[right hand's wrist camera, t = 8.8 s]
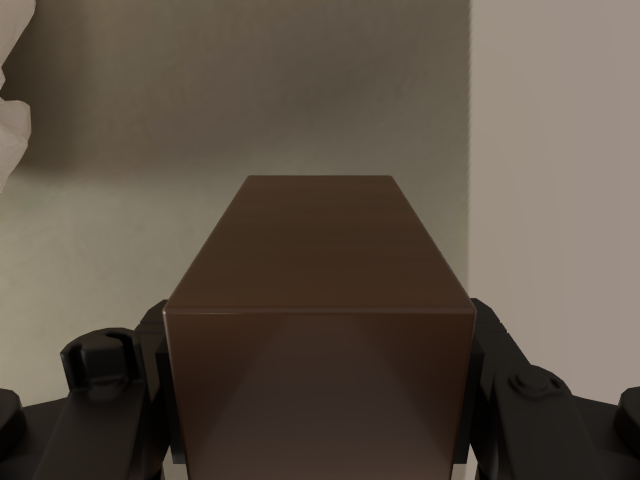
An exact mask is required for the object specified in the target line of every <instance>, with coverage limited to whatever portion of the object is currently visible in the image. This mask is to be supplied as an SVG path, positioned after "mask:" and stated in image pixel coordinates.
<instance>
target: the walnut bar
mask: <svg viewBox="0 0 640 480" xmlns="http://www.w3.org/2000/svg"><path fill="white" fill-rule="evenodd" d="M162 312H163V319H164V325H165V331H166V338H167V344H168V351H169V357H170V364H171V370H172V377H173V383H174V390H175V396H176V403H177V409H178V416H179V422H180V429H181V435H182V442H183V448H184V455H185V461H186V468H187V474H188V480H451V476H452V470H453V463H454V457H455V450H456V444H457V437H458V431H459V424H460V418H461V411H462V405H463V398H464V392H465V385H466V379H467V372H468V366H469V359H470V353H471V346H472V339H473V333H474V326H475V320H476V313H477V310H476V307H475V306H474V304H473V302H472V301H471V299H470V298H469V296H468V295H467V293H466V291H465V290H464V288H463V287H462V285H461V284H460V282H459V281H458V279H457V277H456V276H455V274H454V273H453V271H452V270H451V268H450V266H449V265H448V263H447V262H446V260H445V259H444V257H443V255H442V254H441V252H440V251H439V249H438V248H437V246H436V244H435V243H434V241H433V240H432V238H431V237H430V235H429V233H428V232H427V230H426V229H425V227H424V226H423V224H422V222H421V221H420V219H419V218H418V216H417V215H416V213H415V211H414V210H413V208H412V207H411V205H410V204H409V202H408V200H407V199H406V197H405V196H404V194H403V193H402V191H401V190H400V188H399V186H398V185H397V183H396V182H395V180H394V179H393V177H392V176H248V177H247V178H246V180H245V181H244V183H243V185H242V186H241V188H240V189H239V191H238V192H237V194H236V195H235V197H234V199H233V200H232V202H231V203H230V205H229V206H228V208H227V209H226V211H225V213H224V214H223V216H222V217H221V219H220V220H219V222H218V223H217V225H216V227H215V228H214V230H213V231H212V233H211V234H210V236H209V237H208V239H207V241H206V242H205V244H204V245H203V247H202V248H201V250H200V251H199V253H198V255H197V256H196V258H195V259H194V261H193V262H192V264H191V265H190V267H189V269H188V270H187V272H186V273H185V275H184V276H183V278H182V279H181V281H180V283H179V284H178V286H177V287H176V289H175V290H174V292H173V293H172V295H171V297H170V298H169V300H168V301H167V303H166V304H165V306H164V308H163V311H162Z"/></svg>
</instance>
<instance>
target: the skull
mask: <svg viewBox="0 0 640 480" xmlns="http://www.w3.org/2000/svg"><path fill="white" fill-rule="evenodd" d="M35 6H36V0H0V90H1V88H2V86H3V84H4V82H5V77H4V74H3V71H2V68H1V67H2V65H3V63H4V62H5V60H6V58H7V57H8V55H9V54H10V52H11V50H12V49H13V47H14V45H15V44H16V42H17V40H18V39H19V37H20V35H21V34H22V32H23V31H24V29H25V28H26V26H27V25H28V24H29V22H30V20H31V18H32V16H33V14H34V12H35ZM30 134H31V117H30V106H29V105H28V104H26V103H25V102H23V101H18V100H14V101H4V100H3V99H2V98H1V97H0V194H1V192H2V190H3V188H4V186H5V183H6V181H7V179H8V177H9V175H10V174H11V173H12V171H13V170H14V168H15V167H16V166H17V164H18V163H19V162H20V160H21V158H22V156H23V154H24V152H25V150H26V149H27V147H28V139H29V137H30Z"/></svg>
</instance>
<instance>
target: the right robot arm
mask: <svg viewBox="0 0 640 480" xmlns="http://www.w3.org/2000/svg"><path fill="white" fill-rule="evenodd" d="M470 299H471V301H472V302H473V304H474V306H475V307H476V310H477V313H476V320H475V326H474V333H473V339H472V346H471V353H470V359H469V366H468V372H467V379H466V385H465V392H464V398H463V405H462V411H461V418H460V424H459V431H458V437H457V444H456V450H455V457H454V463H453V464H467V458H468V452H469V446H470V444H471V446H472V449H473V451H474V454H475V456H476V459H477V461H478V464H477V470H476V476H475V480H640V386H639V387H634V388H628V389H627V390H626V391H624V392H623V393H622V394H621V397H620V400H619V403H618V406H617V405H613V404H608V403H603V402H599V401H594V400H589V399H584V398H581V397H577V396H574V395H572V394H571V391H570V390H569V388H568V387H567V385H566V384H565V383H564V381H563V380H561V379H560V378H559V377H557V376H556V375H555V374H553V373H552V372H550V371H547V370H545V369H543V368H541V367H539V366H535V365H531V364H530V363H529V361H528V360H527V359H526V357H525V356H524V354H523V353H522V351H521V350H520V349H519V347H518V346H517V344H516V343H515V342H514V340H513V339H512V337H511V336H510V334H509V333H507V330H506V329H505V327H504V326H503V324H502V323H500V320H499V319H498V317H497V316H496V314H495V313H494V312H493V310H492V309H491V308H490V307H488V306H487V305H485V304H484V303H483V302H481V301H480V300H478V299H477V298H470ZM167 301H168V300H162V301H161V302H159V303H158V304H157V305H155V306H154V307H152V308H151V309H149V310H148V311H147V313H146V314H145V316H144V317H143V319H142V320H141V321H140V324H138V326H137V327H136V329H135V330H134V331H133V330H130V329H126V328H105V329H101V330H96V331H92V332H90V333H87V334H85V335H82V336H80V337H78V338H76V339H75V340H73V341H72V342H70V343H69V344H67V345H66V346H65V348H64V349H63V350H62V351H61V352H60V356H61V360H62V363H63V367H64V371H65V375H66V379H67V382H68V386H69V390H70V392H69V394H68V397H66V398H62V399H58V400H55V401H50V402H45V403H41V404H36V405H31V406H27V407H22V405H21V401H20V398H19V396H18V395H17V394H16V393H15V392H13V391H12V390H7V389H1V388H0V480H165V476H164V470H163V464H162V463H163V460H164V458H165V455H166V453H167V450H168V448H169V445H170V448H171V453H172V459H173V464H186V461H185V455H184V448H183V442H182V435H181V429H180V422H179V416H178V409H177V403H176V396H175V390H174V383H173V377H172V370H171V364H170V357H169V351H168V344H167V338H166V331H165V325H164V319H163V312H162V311H163V308H164V306H165V304H166V303H167Z"/></svg>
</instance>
